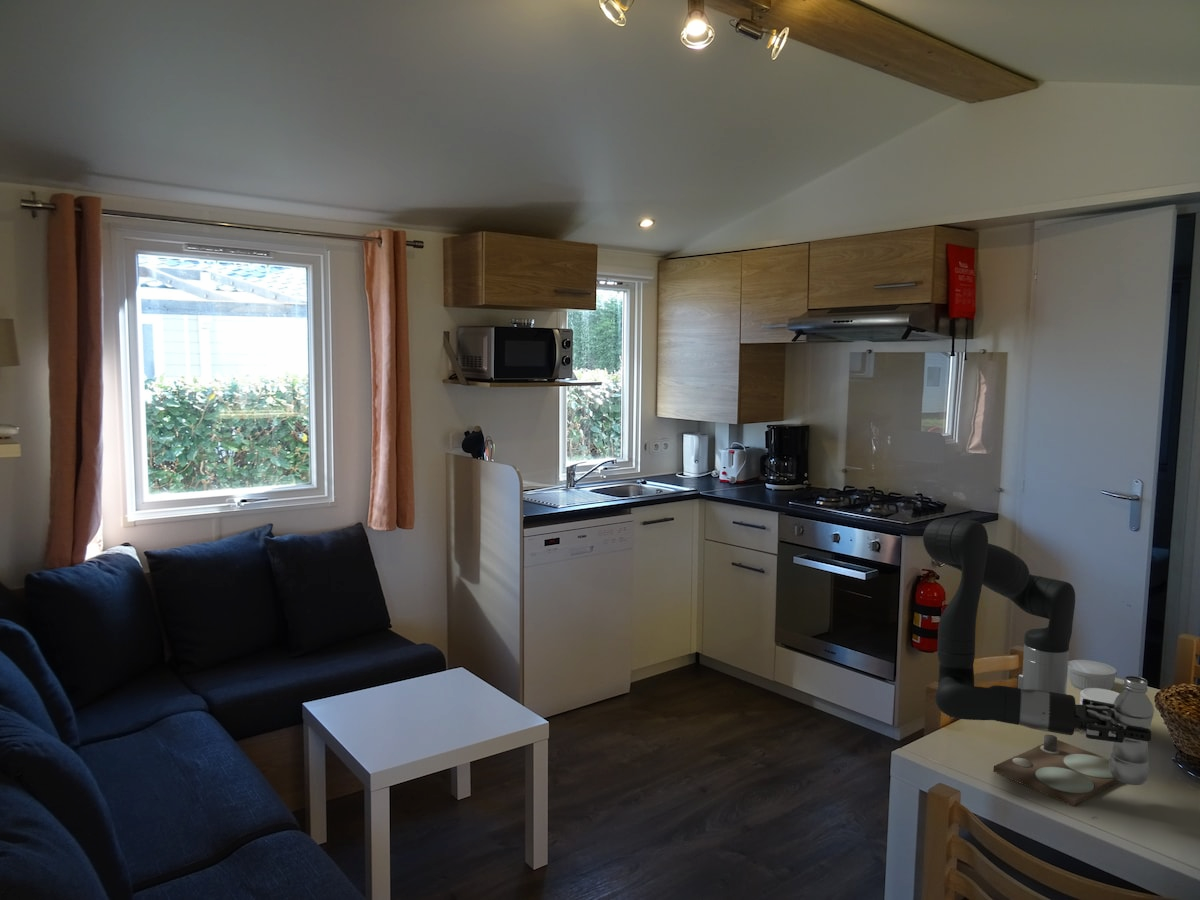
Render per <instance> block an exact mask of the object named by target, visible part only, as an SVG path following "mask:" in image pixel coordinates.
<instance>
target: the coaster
mask: <svg viewBox="0 0 1200 900" xmlns="http://www.w3.org/2000/svg"><path fill="white" fill-rule="evenodd" d="M1120 693H1121V692H1120ZM1120 693H1119V692H1117V691H1114V690H1112V689H1111V690H1106V689H1100V688H1087V689H1083V690H1080V693H1079V695H1080V696H1079V705H1082V701H1083V699H1089V700H1094V701H1099V702H1104V703H1109V704H1114V701H1115V699H1116V697H1117V696H1118V695H1119V694H1120ZM1103 712H1104V711H1103Z"/></svg>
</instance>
